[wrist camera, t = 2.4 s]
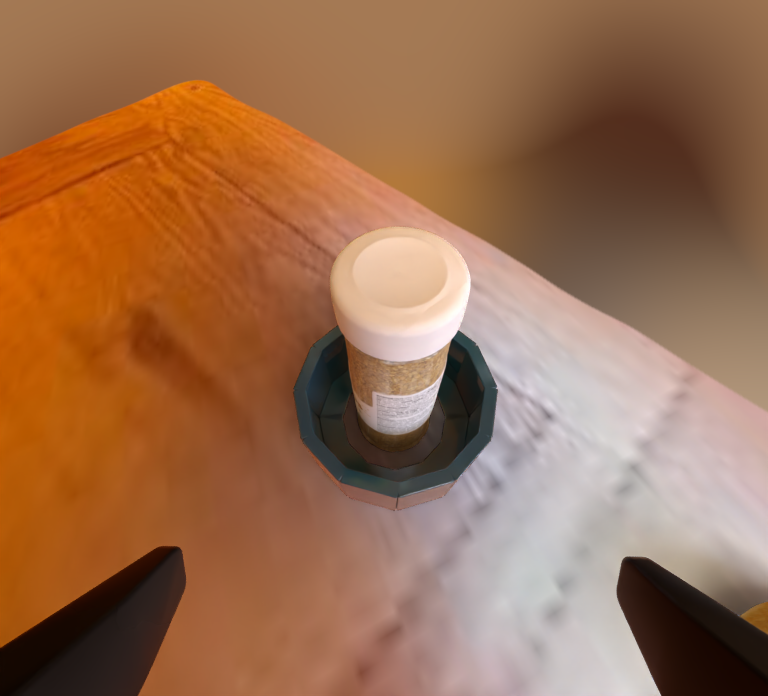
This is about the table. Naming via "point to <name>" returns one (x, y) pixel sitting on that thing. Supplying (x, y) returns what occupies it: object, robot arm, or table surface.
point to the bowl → (412, 483)
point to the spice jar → (398, 326)
